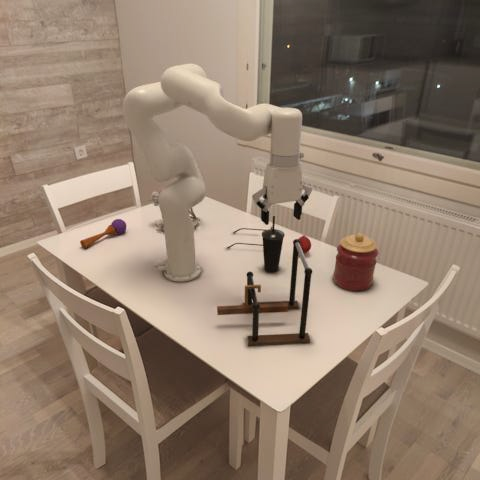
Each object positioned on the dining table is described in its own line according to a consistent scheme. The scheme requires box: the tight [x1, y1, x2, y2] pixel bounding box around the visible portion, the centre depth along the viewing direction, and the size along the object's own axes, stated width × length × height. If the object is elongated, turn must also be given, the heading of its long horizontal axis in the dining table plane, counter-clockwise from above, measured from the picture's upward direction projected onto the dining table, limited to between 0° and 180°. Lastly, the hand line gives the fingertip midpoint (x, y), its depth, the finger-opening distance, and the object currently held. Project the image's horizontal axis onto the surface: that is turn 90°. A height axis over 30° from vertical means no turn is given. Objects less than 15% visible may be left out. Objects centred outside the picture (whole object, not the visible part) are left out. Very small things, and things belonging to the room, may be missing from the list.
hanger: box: [216, 284, 289, 316], centre depth 124 cm, size 20×2×9 cm, turn 95°
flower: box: [147, 165, 204, 232], centre depth 180 cm, size 20×22×25 cm
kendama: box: [79, 218, 127, 249], centre depth 174 cm, size 6×6×20 cm
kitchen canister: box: [332, 232, 379, 292], centre depth 144 cm, size 13×13×18 cm
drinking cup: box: [261, 215, 286, 274], centre depth 150 cm, size 8×8×20 cm
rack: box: [241, 238, 313, 347], centre depth 123 cm, size 17×19×23 cm
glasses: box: [226, 226, 272, 249], centre depth 172 cm, size 14×16×5 cm
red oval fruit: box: [297, 234, 312, 255], centre depth 163 cm, size 6×6×8 cm
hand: (281, 220), depth 124 cm, fingers open, 9 cm apart
